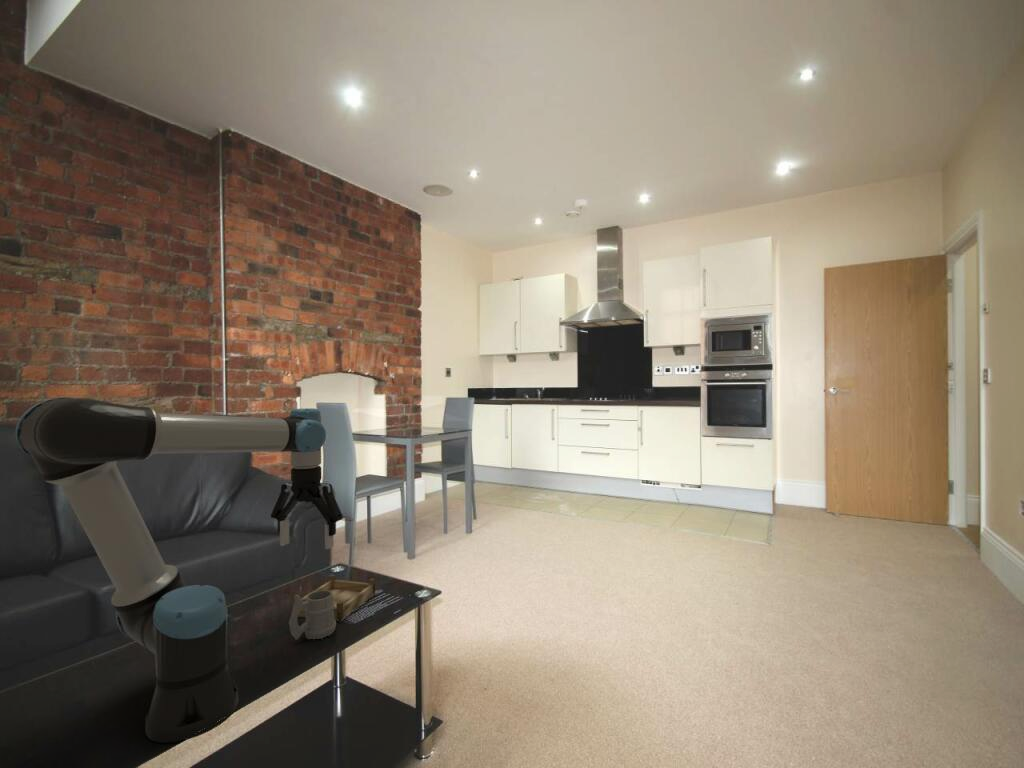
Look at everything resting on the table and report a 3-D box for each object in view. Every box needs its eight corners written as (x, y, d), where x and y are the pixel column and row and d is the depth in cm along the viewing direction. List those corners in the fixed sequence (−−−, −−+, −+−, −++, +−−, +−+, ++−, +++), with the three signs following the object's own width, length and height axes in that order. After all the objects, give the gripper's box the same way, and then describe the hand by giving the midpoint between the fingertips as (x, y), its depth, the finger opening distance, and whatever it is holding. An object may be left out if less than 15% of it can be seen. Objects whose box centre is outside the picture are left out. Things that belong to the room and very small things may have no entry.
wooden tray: (340, 622, 132) (340, 603, 132) (293, 616, 136) (293, 598, 136) (375, 595, 148) (374, 578, 148) (332, 590, 152) (332, 574, 152)
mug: (342, 631, 127) (341, 585, 127) (298, 651, 118) (297, 601, 118) (326, 622, 132) (324, 578, 132) (282, 641, 123) (281, 593, 122)
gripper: (355, 465, 132) (356, 544, 132) (275, 463, 138) (276, 538, 138) (339, 469, 125) (340, 553, 125) (256, 467, 131) (256, 547, 131)
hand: (306, 546), depth 131 cm, fingers open, 13 cm apart
